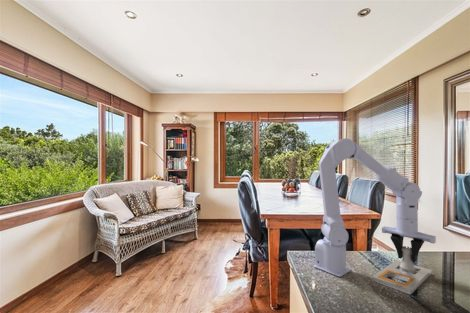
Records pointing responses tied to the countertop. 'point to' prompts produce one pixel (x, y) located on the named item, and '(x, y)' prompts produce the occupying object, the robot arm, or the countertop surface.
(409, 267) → the rook chess piece
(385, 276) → the rail plate
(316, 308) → the countertop surface
